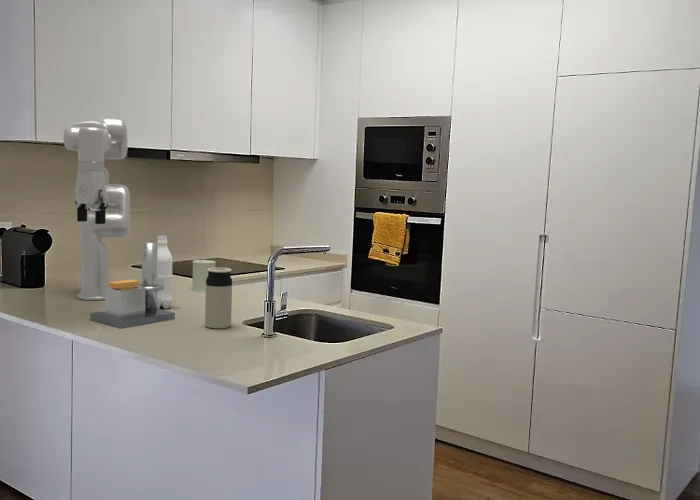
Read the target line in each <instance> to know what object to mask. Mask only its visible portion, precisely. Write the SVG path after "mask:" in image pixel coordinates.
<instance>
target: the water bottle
mask: <svg viewBox="0 0 700 500" xmlns="http://www.w3.org/2000/svg"><path fill="white" fill-rule="evenodd" d="M156 243H158V253H157V284H162V285H164V290H162V291H157V309H161V307H162V308H163V310H166V309H168V308H170V307H171V306H172V303H173V296H172V288H171V287H172V286H171V285H172V277H173V256H172V253H171V251H170V250H169V247H168V243H169V242H168V236H167V235H157V241H156Z"/></svg>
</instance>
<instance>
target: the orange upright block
mask: <svg viewBox="0 0 700 500" xmlns="http://www.w3.org/2000/svg"><path fill="white" fill-rule="evenodd" d="M139 284H140V280H136V279H122V280H116V281H109V282H108V287H111V288H115V289H119V290H126V289H134V288H135V286H139Z"/></svg>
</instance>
